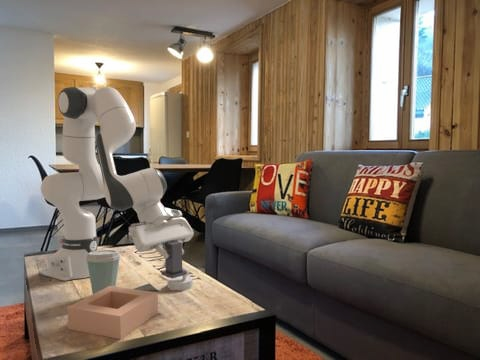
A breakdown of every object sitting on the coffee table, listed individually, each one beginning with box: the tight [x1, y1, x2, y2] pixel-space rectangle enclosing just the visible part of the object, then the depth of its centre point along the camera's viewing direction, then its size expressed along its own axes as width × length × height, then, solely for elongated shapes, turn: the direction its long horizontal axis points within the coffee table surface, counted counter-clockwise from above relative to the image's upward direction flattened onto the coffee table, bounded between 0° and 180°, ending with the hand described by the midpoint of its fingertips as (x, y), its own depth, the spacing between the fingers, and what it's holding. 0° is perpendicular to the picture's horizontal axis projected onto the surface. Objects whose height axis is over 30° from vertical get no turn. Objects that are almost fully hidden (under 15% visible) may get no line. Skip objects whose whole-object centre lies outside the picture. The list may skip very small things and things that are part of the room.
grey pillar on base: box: [160, 240, 187, 279], centre depth 121 cm, size 5×5×10 cm
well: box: [66, 286, 159, 340], centre depth 110 cm, size 17×17×6 cm
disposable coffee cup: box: [86, 249, 122, 295], centre depth 128 cm, size 11×11×15 cm
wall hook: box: [163, 262, 194, 291], centre depth 137 cm, size 9×10×10 cm
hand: (175, 256), depth 120 cm, fingers closed on grey pillar on base, 4 cm apart
